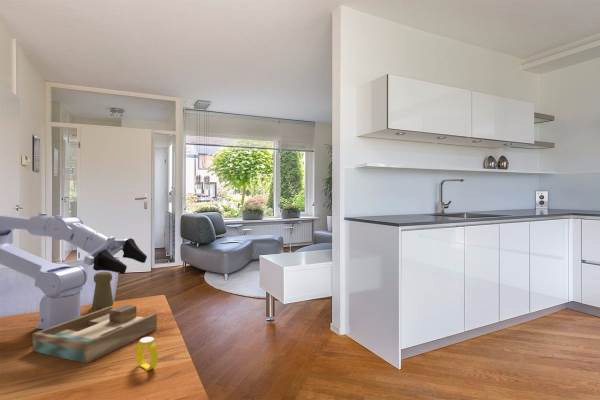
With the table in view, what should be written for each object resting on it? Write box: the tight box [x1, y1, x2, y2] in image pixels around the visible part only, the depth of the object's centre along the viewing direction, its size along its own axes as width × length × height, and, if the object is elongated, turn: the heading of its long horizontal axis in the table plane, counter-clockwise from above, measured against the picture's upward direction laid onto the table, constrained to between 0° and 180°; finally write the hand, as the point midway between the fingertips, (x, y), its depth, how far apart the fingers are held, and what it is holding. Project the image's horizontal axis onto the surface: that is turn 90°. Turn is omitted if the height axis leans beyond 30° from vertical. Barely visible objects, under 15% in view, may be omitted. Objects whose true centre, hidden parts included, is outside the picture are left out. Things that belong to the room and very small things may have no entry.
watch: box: [135, 336, 159, 372], centre depth 68 cm, size 6×3×6 cm, turn 55°
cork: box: [91, 271, 114, 310], centre depth 107 cm, size 6×6×11 cm
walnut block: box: [109, 304, 137, 323], centre depth 89 cm, size 4×5×3 cm
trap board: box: [31, 306, 158, 364], centre depth 82 cm, size 17×20×4 cm
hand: (135, 264), depth 87 cm, fingers open, 7 cm apart
